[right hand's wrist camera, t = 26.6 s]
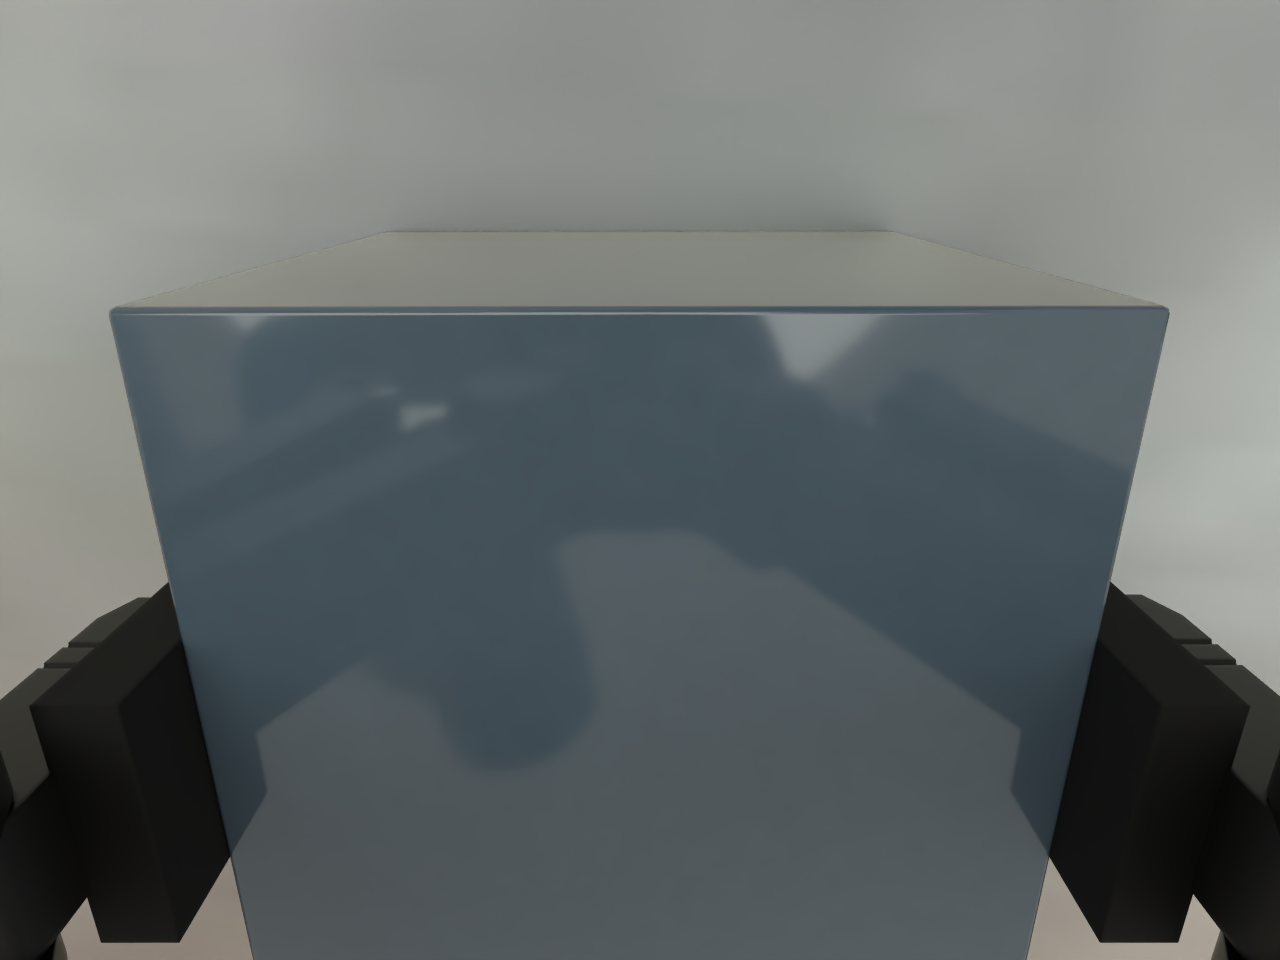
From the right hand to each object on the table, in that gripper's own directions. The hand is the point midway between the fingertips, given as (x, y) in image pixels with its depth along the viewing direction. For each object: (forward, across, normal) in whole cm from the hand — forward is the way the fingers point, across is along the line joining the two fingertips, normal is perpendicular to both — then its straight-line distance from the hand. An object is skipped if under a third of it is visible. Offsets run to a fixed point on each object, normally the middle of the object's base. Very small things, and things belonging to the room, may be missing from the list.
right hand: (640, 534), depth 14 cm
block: (+3, 0, 0) cm, 3 cm away
